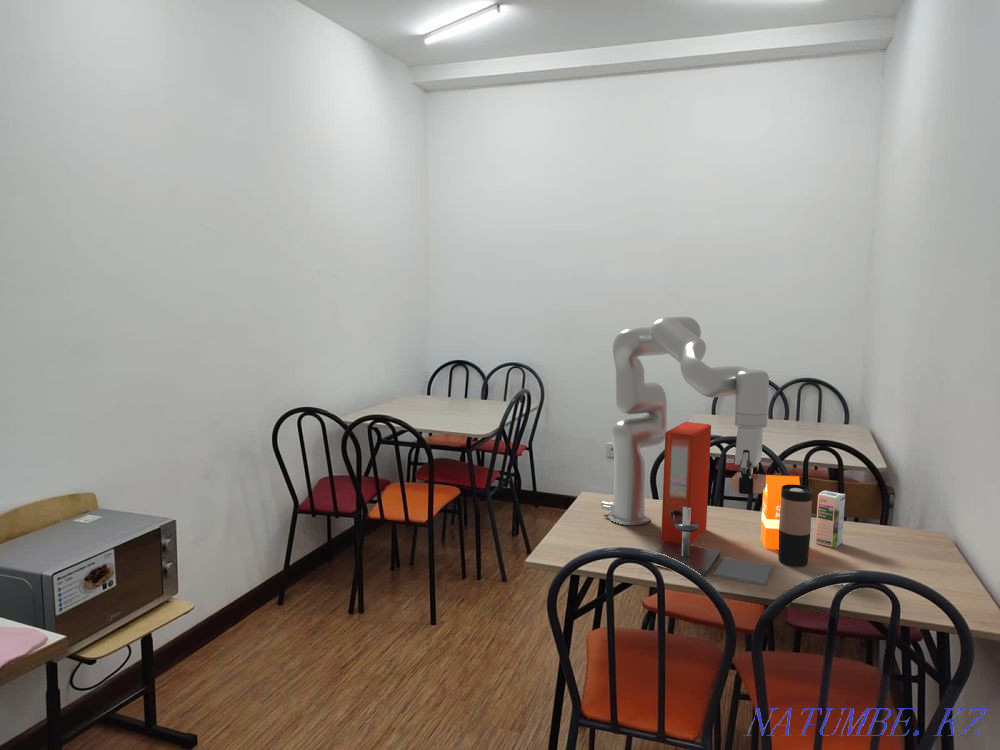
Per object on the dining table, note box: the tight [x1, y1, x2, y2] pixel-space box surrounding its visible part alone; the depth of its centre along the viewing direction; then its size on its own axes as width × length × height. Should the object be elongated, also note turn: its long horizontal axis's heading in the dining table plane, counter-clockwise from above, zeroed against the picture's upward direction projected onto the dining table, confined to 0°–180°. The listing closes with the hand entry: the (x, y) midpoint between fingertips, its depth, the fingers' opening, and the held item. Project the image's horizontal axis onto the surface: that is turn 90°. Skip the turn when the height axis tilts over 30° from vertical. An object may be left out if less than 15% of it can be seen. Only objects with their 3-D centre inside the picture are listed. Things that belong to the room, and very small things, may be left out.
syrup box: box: [814, 490, 846, 549], centre depth 198 cm, size 6×6×14 cm
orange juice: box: [760, 474, 801, 551], centre depth 196 cm, size 8×9×20 cm
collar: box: [731, 471, 767, 495], centre depth 176 cm, size 7×7×3 cm
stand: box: [655, 507, 722, 577], centre depth 186 cm, size 15×15×14 cm
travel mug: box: [778, 484, 813, 568], centre depth 184 cm, size 8×8×20 cm
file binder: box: [660, 421, 712, 546], centre depth 203 cm, size 8×17×32 cm, turn 148°
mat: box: [713, 557, 774, 587], centre depth 179 cm, size 12×12×1 cm
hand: (748, 489), depth 176 cm, fingers closed on collar, 7 cm apart
